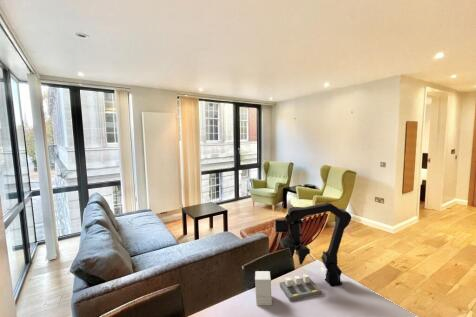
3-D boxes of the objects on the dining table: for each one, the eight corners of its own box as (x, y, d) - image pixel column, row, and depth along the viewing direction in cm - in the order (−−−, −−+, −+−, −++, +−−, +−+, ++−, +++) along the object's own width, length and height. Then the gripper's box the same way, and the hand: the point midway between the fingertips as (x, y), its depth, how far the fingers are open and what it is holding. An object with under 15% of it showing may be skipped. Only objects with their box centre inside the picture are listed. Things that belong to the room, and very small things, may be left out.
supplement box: (271, 295, 114) (270, 270, 113) (271, 306, 106) (271, 279, 106) (256, 295, 114) (255, 270, 114) (255, 305, 107) (254, 279, 106)
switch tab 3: (307, 279, 122) (307, 274, 121) (309, 282, 119) (309, 276, 119) (303, 280, 121) (302, 274, 121) (305, 283, 119) (305, 277, 118)
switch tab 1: (289, 283, 119) (289, 277, 119) (291, 285, 117) (291, 279, 117) (285, 284, 119) (285, 278, 119) (287, 286, 116) (287, 280, 116)
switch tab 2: (298, 281, 120) (298, 275, 120) (300, 284, 118) (300, 278, 118) (294, 282, 120) (294, 276, 120) (296, 285, 118) (296, 278, 117)
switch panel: (308, 280, 124) (308, 276, 124) (321, 294, 113) (321, 290, 113) (279, 286, 121) (279, 282, 121) (289, 301, 109) (289, 297, 109)
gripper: (273, 228, 129) (275, 255, 130) (289, 241, 111) (291, 272, 112) (291, 225, 132) (293, 251, 132) (309, 237, 113) (311, 267, 114)
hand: (296, 260), depth 123 cm, fingers open, 9 cm apart
